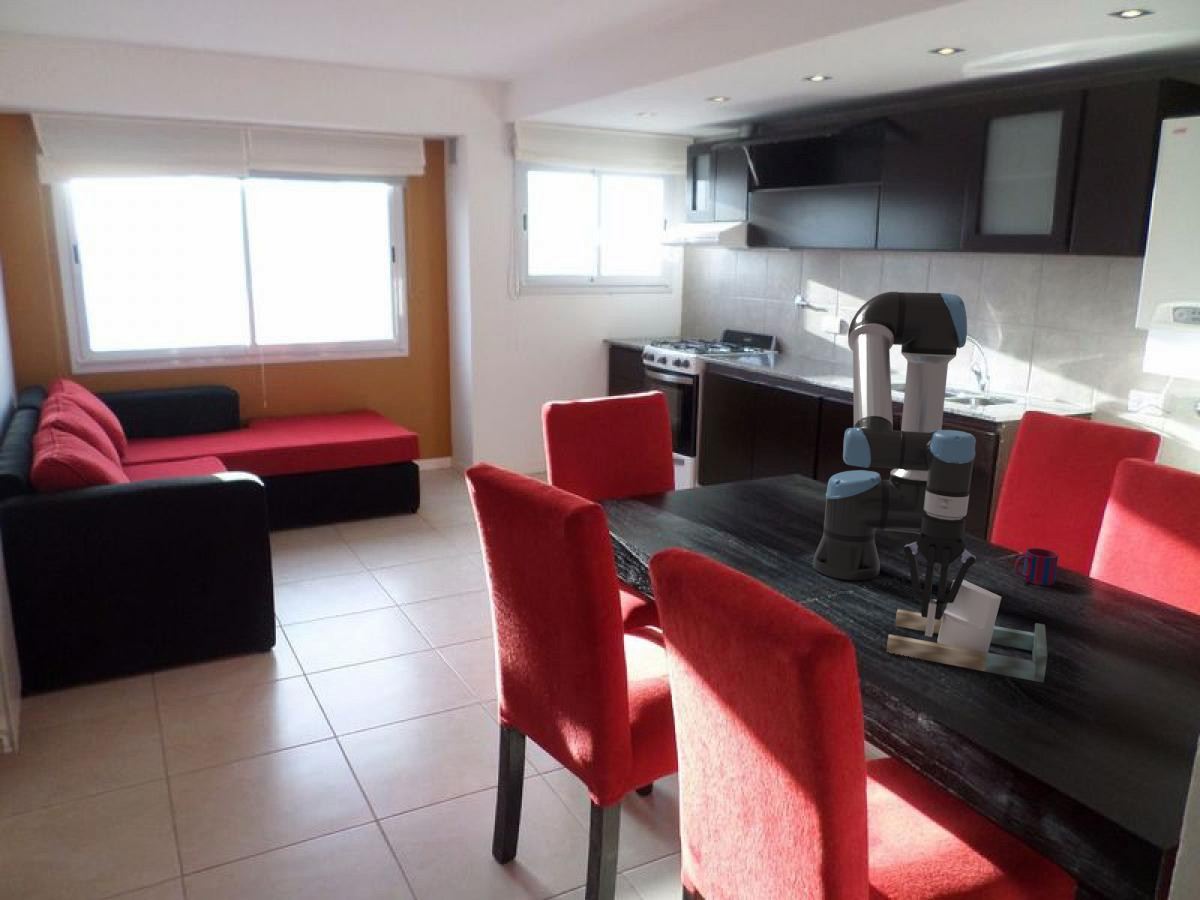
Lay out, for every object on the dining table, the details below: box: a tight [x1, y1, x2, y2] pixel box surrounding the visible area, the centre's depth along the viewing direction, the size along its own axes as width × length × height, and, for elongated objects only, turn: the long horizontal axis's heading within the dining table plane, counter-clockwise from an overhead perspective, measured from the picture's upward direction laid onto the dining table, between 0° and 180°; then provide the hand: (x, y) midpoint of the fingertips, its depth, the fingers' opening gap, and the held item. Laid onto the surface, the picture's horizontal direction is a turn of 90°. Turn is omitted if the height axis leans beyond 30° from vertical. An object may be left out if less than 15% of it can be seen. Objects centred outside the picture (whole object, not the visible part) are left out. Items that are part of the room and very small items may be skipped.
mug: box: [1014, 547, 1059, 587], centre depth 207 cm, size 7×10×7 cm
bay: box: [886, 608, 1048, 683], centre depth 170 cm, size 27×15×5 cm, turn 66°
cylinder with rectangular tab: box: [936, 579, 1002, 653], centre depth 169 cm, size 9×9×12 cm
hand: (929, 633), depth 171 cm, fingers closed
